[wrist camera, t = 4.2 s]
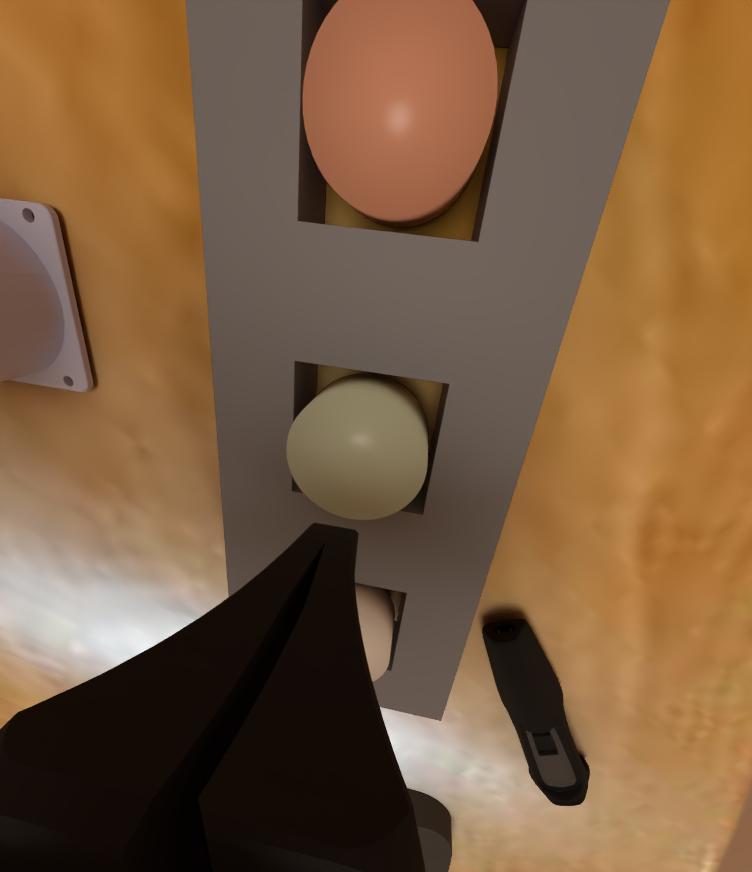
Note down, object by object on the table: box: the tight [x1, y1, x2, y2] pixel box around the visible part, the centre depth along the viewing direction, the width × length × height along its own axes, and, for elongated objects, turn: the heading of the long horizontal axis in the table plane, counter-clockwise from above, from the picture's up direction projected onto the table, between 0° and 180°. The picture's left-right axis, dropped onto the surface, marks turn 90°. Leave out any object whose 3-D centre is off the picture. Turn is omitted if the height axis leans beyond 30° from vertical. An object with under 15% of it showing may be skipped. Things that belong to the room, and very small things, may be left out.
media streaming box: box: [407, 789, 452, 872], centre depth 31 cm, size 15×15×3 cm
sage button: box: [286, 373, 429, 520], centre depth 14 cm, size 5×5×2 cm
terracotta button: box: [303, 0, 498, 227], centre depth 11 cm, size 5×5×2 cm
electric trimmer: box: [482, 619, 590, 806], centre depth 22 cm, size 4×16×3 cm, turn 21°
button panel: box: [186, 0, 670, 721], centre depth 16 cm, size 12×32×3 cm, turn 173°
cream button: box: [355, 583, 395, 682], centre depth 18 cm, size 5×5×2 cm
